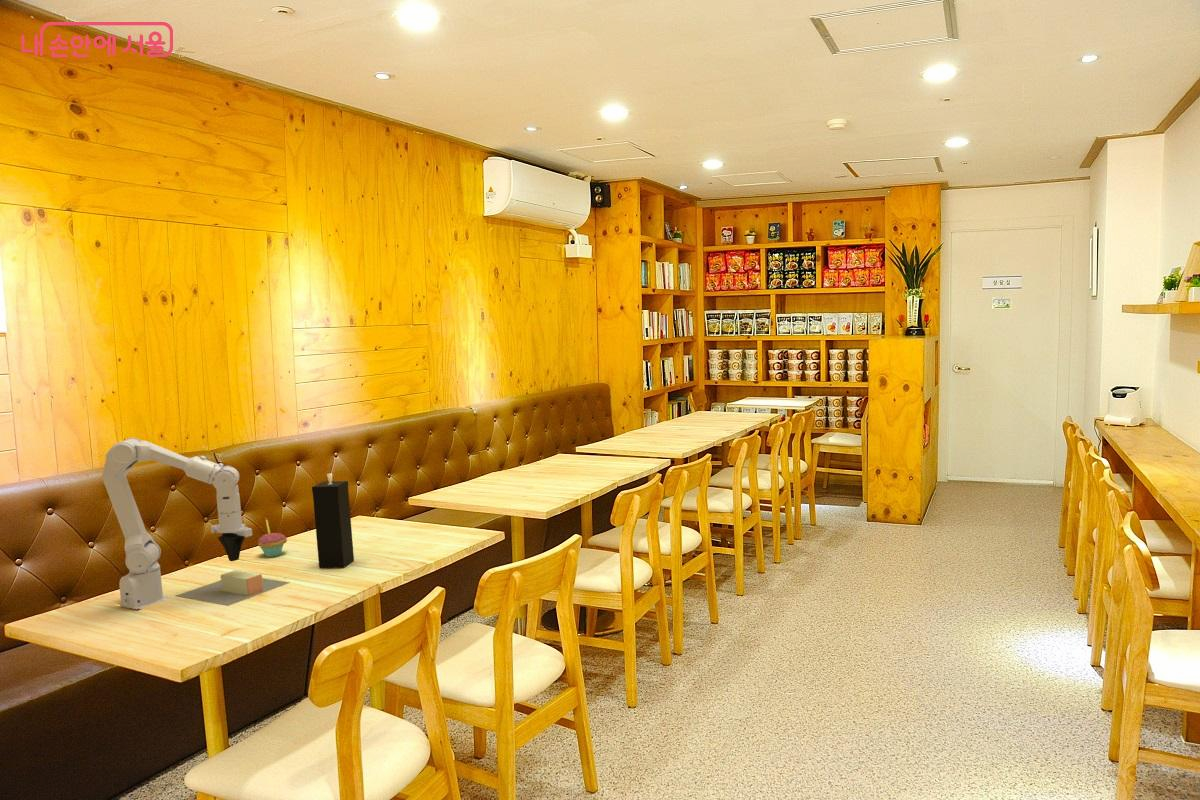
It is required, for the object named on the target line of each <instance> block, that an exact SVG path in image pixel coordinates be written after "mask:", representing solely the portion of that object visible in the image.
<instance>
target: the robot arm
mask: <svg viewBox="0 0 1200 800" xmlns="http://www.w3.org/2000/svg"><path fill="white" fill-rule="evenodd" d="M206 458H207V457H206V456H205V455H200V456H197V455H196V456H193V457H187V456H184V455H182V454H179V453H177V452H174V451H173V450H170V449H167V448H165V447H163V446H160V445H157V444H155V443H153V442H150V441H149V440H141V439H139V438H137V437H128V438H126V439H124V440H123V441H119V442H116V443H114V444H113V445H112V446H111V447H110V448H109V449H108V451H107V453H105V462H104V466H103V471H102V475H101V476H102V477H101V478H102V481H103V483H104V486H105V489H106V492H107V495H108V497H109V500H110V502H111V505H112V508H113V511H114V513H115V517H117V521H118V525H119V526H120V529H121V532H122V534H123V537H124V546H123V547H124V551H125V561H124V562H125V566H126V567H127V569H128V571H129V572H128V573H127V574H126V575H123V576H122V577H121V578H120V579H119V583H118V584H119V594H120V604H119V607H121V606H122V607H121V608H126V607H127V609H130V608H132V610H135V609H136V611H138V610H137V609H139V610H141V609H142V608H143V607H146V606H150V605H153V604H155V603H159V602H161V601H164V600H167V599H170V598H171V596H167V595H164V592H163V585H162V584H163V583H162V575H161V573H162V571H161V565H160V564H159V562H158V560H159V559H160V558H161V553H162V549H161V547H160V545H158V544H157V542H155V540H153V537H152V535H151V534H150V533H149V532H148V531H147V529H146V527H145V524H144V521H143V519H142V516H141V513H140V511H139V508H138V506H137V503H136V500H135V498H134V495H133V492H132V490H131V486H130V484H129V480H128V478H127V476H128V474H129V473H130V471H131V469H132V468H133V466H134V465H135V464H136V463H142V462H148V461H154V462H158V463H161V464H165V465H168V466H171V467H174V468H178V469H180V470H183V471H184V473H185V475H186V476H187V477H189V478H192V479H195V480H196V481H200V482H203V483H206V484H209V485H212V486H213V487H214V488H215V491H216V505H217V516H218V517H217V518H218V524H214V525H210V533H211V534H221V535H220V536H218V538H217V540H218V541H219V542H220V543H221V545H222V547H223V549H224V551H225V553H226V556H227V558H228V560H229V562H234V561H238V560H240V553H241V550H242V545H243V542H244V541H245V539H246V538H248V537H251V536H253V529H252V528H251V527H248V526H246V523H243V520H242V519H243V518H242V507H241V497H240V492H239V491H240V490H239V484H238V482H239V480H240V472H239V471H238V470H237V469H236V468H235V467H233V466H232V465H224V463H222V462H220V463H216V462H214V461H211V460H209V459H206ZM140 608H141V609H140Z"/></svg>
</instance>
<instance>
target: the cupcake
mask: <svg viewBox="0 0 1200 800" xmlns="http://www.w3.org/2000/svg"><path fill="white" fill-rule="evenodd" d="M265 525H266V529H267V530H266V531H267V533H266V534H263V535H262V536H260V537H259V539H258V540H257V545H258V546H257V547H259V548H260V549H261V551H262V552H263V554H264V557H266V558H273V556H275V557H277V555H278V556H280V555H282V551H283V547H284V545H285V544H286V543H287V541H288V539H287V536H285V534H282V533H281V532H271V530H270V526H269V520H268V519H267V518H265Z"/></svg>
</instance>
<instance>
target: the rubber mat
mask: <svg viewBox="0 0 1200 800" xmlns="http://www.w3.org/2000/svg"><path fill="white" fill-rule="evenodd" d="M262 584H263V591H260V592H257V593H255V594H252V595H243V594H237V593H231V592H226V591H222V584H221V579H220V580H217V581H215V582H211V583H208V584H206V585H202V586H199V587H197V588H194V589H190V590H188V591H184V592H181V593H179V594H177V595H175V597H178V598H183V599H189V600H194V601H199V602H200V601H201V602H205V603H210V604H216V605H221V606H226V607H229V606H232V605H234V604H237V603H239V602H242V601H245V600H247V599H251V598H253V597H256V596H259V595H261V594H263V593H267V592H269V591H272V590H275V589H278V588H280V587H282V586H285V585H288V584H291V582H290V581H284V580H277V579H270V578H264V577H262Z"/></svg>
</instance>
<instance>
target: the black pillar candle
mask: <svg viewBox="0 0 1200 800" xmlns="http://www.w3.org/2000/svg"><path fill="white" fill-rule="evenodd" d="M326 476H327V481H322V482H320V483H318V484H316V485H313V486H312V487H311V492H312V500H313V512H314V523H315V534H316V536H315V537H316V546H317V559H318V568H319V569H323V568H324V569H344V568H346V567H347V566H348V565H349V564H351V563H352V562H354V561H355V555H354V554H355V553H354V544H353V543H354V542H353V532H352V530H353V529H352V521H351V520H352V518H351V508H350V507H351V506H350V505H351V504H350V494H349V480H336V481H333V473H332V472H330V473H326Z"/></svg>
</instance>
